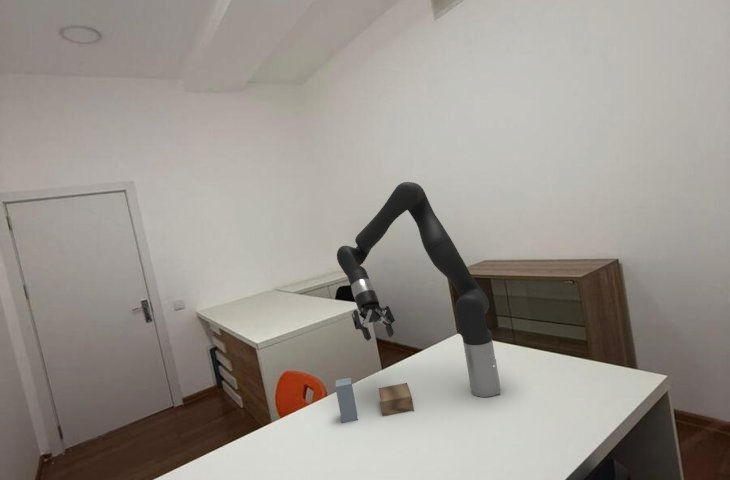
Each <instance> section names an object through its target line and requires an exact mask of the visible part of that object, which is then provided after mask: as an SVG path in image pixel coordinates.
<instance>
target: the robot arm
mask: <svg viewBox="0 0 730 480" xmlns="http://www.w3.org/2000/svg"><path fill="white" fill-rule="evenodd" d="M406 211H408V213H409V214H410V215H411V217H412V218H413V221H415V223H416V226H417V228H418V232H419V236H420V239H421V243H422V245H423V248H424V251H426V254H427V255H428V256H427V257H429V259H430V261H431V262H432V264H433V265H434V267H435V268H436V269H438V271H439V272H440V273H441V274H442V275H444V277H446V278H447V279H448V280H449V281H450V282H451V284H452V285H453V287H454V289H455V291H456V293H457V295H458V296H459V297H458V299H457V300H456V302H455V316H456V320H457V325H458V331H459V334H460V336H461V338H462V342H463V347H464V348H463V349H464V353H465V355H464V356H465V361H466V367H467V374H468V380H469V386H470V392H471V394H473V395H474V396H476V397H479V398H490V397H493V396H496V395H497V396H498V395H501V384H500V378H499V377H500V376H499V371H498V370H499V369H498V365H497V359H496V356H495V349H494V348H495V347H494V342H493V336H492V332H491V330H490V329H489V328H488V325H487V320H486V313H487V312H488V311H489V309H490V303H489V301H490V300H489V299H488V296H487V294H485V292H484V290H483V289H482V287H481V286H480V285H479V284H478V283H477V281H476V279H475V278H474V277H473V276H472V274H471V272H470V270H469V268H468V267H467V265H466V263H465V261H464V259H463V258H462V256H461V255H460V253H459V250H458V248H457V247H456V245H455V243H454V242H453V240H452V238H451V237H450V235H449V234H448V232H447V231H446V229H445V227H444V226H443V224H442V222H441V221H440V219H439V218H438V217H437V215H436V213H435V212H434V210H433V208H432V206H431V204H430V201H429V199H428V197H427V194H426V192H425V191H424V188H423V187H422V186H421V185H420V184H419V183H416V182H410V181H405V182H401V183H399V184H398V185H396V186H395V188H394V190H393V191H392V192H391V194H390V195H389V197H388V199H387V200H386V202H385V203H384V204H383V206H382V207H381V209H380V210H378V213H377V214H376V215H375V216H374V217H373V218H372V219H371V220H370V221H369V222H368V224H366V225H365V226H364V228H363V229H362V230H360V231H359V233H358V234H357V235H356V237H355V241H354V242H355V244H356V245H357V246H356V247H354V246H351V245H350V246H349V245H342V246H340V247H339V248H338V250H337V252H336V260H337V263H338V265H339V266H340V268H341V269H342V272H343V273H344V275H346V277H347V280H348V283H349V284H350V288H351V293H352V296H353V298H354V302H355V303H356V307H357V309H354V310H353V311H352V313H351V318H352V322H353V326H354V329H355V330H360V331H361V333H362V335H363V338H364V340H366V342H367V341H370V340H371V339H372V336H371V333H370V330H369V327H368V324H370V323H377V322H378V323H379V324H381V325H383V326H384V327H385V331H386V332H387V336H388V338H391V337H393V336H394V334H395V331H394V329H393V327H392V324H393V323H394V322H395V321H396V320H395V317H394V315H393V313H392V311H391V308H390V306H388V305H386V306H385V307H381V305H380V301H379V298H378V296H377V293H376V290H375V288H374V285H373V284H372V282H371V279H370V278H369V274H368V272H367V270H366V269H365V268H364V266H361V265H363V264H364V262H365V261H366V259H367V257H368V255H369V254H370V252H371V250H372V249H373V247H375V246H376V244H378V242H379V241H380V240H381V239H382V238H383V237H384V236H385V235H386V233H387V231H388V230H389V229H390V226H391V225H392V224H393V223H394V222H395V221H396V220H397V219H398V218H399V217H400V216H401V215H402V214H403V213H405V212H406ZM360 317H361V318H362V319H363V320H362V321H361V318H360Z"/></svg>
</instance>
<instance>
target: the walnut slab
mask: <svg viewBox="0 0 730 480" xmlns="http://www.w3.org/2000/svg"><path fill="white" fill-rule="evenodd" d="M378 394H379V401H380V407H381V412H382V416H383V417H387V416H391V415H392V416H393V415H397V414H402V413H408V412H414V411H415V408H414V404H413V403H414V401H413V397H412V393H411V390H410V387H409V384H408V382H404V383H399V384H393V385H388V386H382V387H378Z"/></svg>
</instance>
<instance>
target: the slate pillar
mask: <svg viewBox="0 0 730 480" xmlns="http://www.w3.org/2000/svg"><path fill="white" fill-rule="evenodd" d="M335 390H336V397H337V402H338V408H339V413H340V418H341V423H342V424H345V423H349V422H354V421H358V410H357V405H356V399H355V394H354V388H353V383H352V377H347V378H340V379H335Z"/></svg>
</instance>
